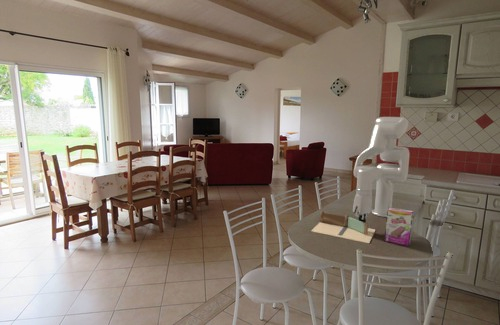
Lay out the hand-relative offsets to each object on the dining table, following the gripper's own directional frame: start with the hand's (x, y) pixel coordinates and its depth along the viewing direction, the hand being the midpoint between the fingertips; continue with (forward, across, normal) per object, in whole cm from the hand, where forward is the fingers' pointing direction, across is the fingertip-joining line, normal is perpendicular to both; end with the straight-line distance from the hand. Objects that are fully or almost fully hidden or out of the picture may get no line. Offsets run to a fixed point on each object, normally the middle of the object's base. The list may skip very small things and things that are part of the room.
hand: (361, 225), depth 163 cm
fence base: (+3, +6, -14) cm, 15 cm away
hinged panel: (+2, +3, -1) cm, 4 cm away
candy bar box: (+3, -3, +18) cm, 19 cm away
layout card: (+3, +8, -5) cm, 10 cm away
